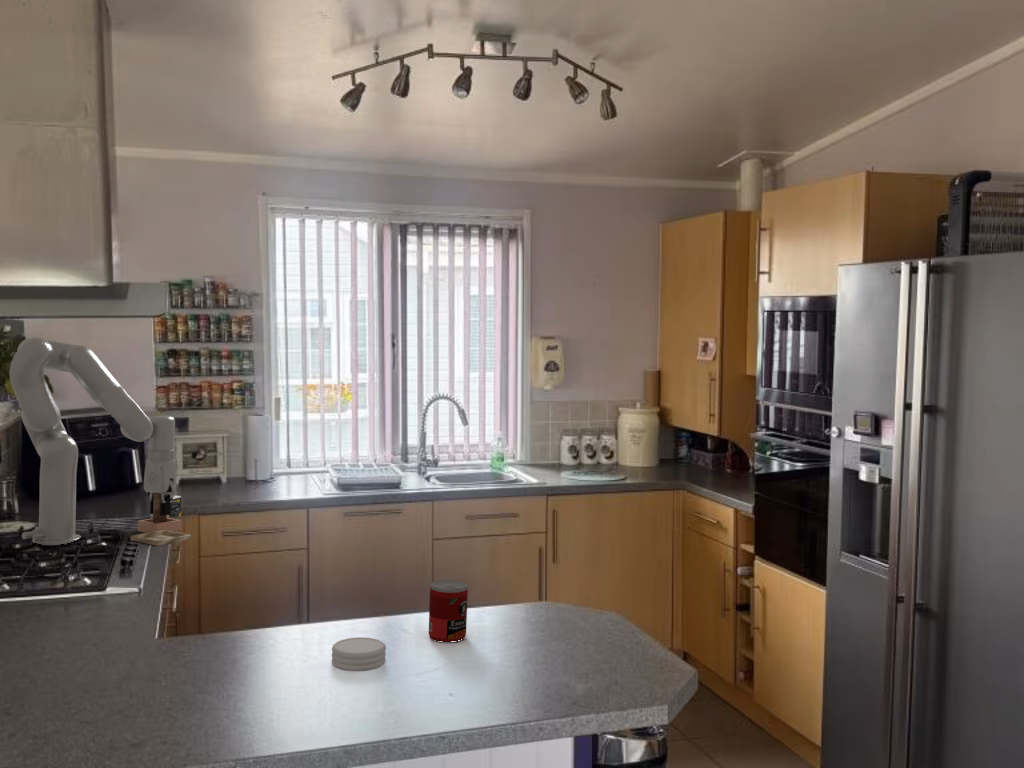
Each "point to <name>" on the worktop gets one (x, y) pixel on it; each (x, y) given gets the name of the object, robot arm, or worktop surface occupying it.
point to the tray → (160, 537)
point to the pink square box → (159, 525)
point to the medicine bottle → (174, 507)
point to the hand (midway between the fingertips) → (160, 513)
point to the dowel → (158, 509)
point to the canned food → (448, 610)
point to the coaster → (358, 654)
